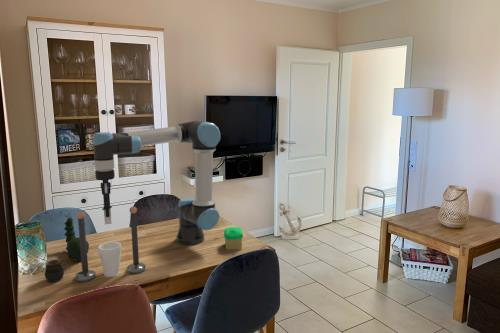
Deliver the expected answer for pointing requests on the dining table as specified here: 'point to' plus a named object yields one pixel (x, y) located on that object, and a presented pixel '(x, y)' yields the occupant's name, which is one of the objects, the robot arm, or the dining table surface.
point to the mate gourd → (54, 270)
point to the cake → (233, 238)
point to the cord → (134, 236)
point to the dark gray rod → (82, 242)
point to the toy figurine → (73, 241)
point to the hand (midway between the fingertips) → (108, 223)
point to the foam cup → (110, 258)
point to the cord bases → (92, 274)
